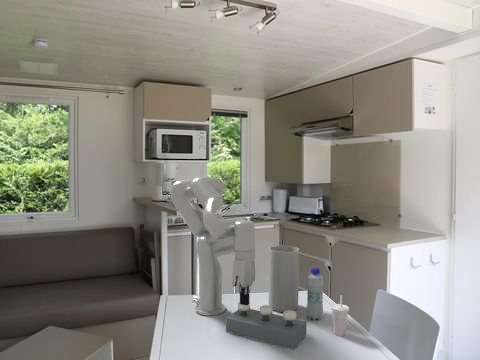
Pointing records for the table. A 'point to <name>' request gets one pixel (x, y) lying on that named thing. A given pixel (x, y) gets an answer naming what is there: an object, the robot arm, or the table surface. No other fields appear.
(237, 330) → the control panel
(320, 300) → the bottle
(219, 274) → the robot arm
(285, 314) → the knob
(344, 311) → the smoothie
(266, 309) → the knob middle
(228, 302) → the table surface
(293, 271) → the cylinder vase
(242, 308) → the knob
